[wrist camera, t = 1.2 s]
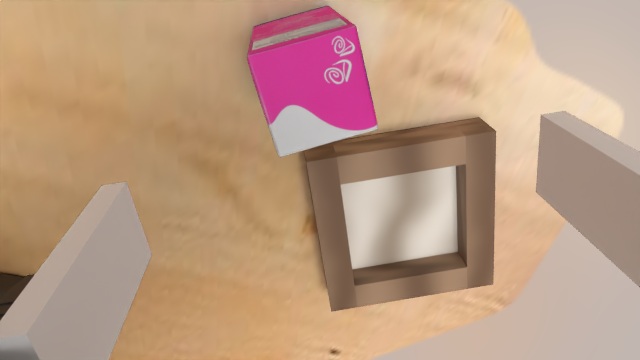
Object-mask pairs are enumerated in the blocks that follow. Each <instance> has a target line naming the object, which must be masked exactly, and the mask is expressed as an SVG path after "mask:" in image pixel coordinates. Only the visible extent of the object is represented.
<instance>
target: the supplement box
mask: <svg viewBox="0 0 640 360" xmlns="http://www.w3.org/2000/svg"><path fill="white" fill-rule="evenodd" d="M247 60H248V64H249V68H250V71H251V74H252V78H253V81H254V84H255V87H256V90H257V94H258V97H259V100H260V103H261V106H262V109H263V112H264V115H265V118H266V121H267V124H268V127H269V130H270V133H271V136H272V139H273V142H274V145H275V148H276V151H277V154H278V156H279V157H283V156H286V155H290V154H293V153H297V152H300V151H304V150H307V149H310V148H314V147H317V146H321V145H324V144H327V143H331V142H334V141H337V140H341V139H344V138H348V137H352V136H355V135H359V134H363V133H366V132H370V131H374V130H377V128H378V125H377V120H376V115H375V110H374V106H373V101H372V97H371V92H370V87H369V83H368V78H367V74H366V69H365V65H364V60H363V56H362V51H361V47H360V42H359V38H358V33H357V28H356V26H355V25H354V24H352V23H351V22H350V21H348V20H347V19H345V18H344V17H343V16H341V15H340V14H338V13H337V12H336V11H335V10H333V9H332V8H330V7H329V6H325V7H321V8H318V9H314V10H311V11H307V12H303V13H300V14H296V15H292V16H289V17H285V18H281V19H278V20H274V21H271V22H267V23H264V24H260V25H257V26H254V27H253V33H252V37H251V42H250V46H249V50H248V54H247Z"/></svg>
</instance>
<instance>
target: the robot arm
mask: <svg viewBox="0 0 640 360" xmlns="http://www.w3.org/2000/svg"><path fill="white" fill-rule="evenodd" d="M536 193H538V194H539V195H540V196H541V197H542V198H543V199H544V200H545V201H546V202H547V203H548V204H550V205H551V206H552V207H553V208H554V209H555V210H556V211H557V212H558V213H559V214H560V215H561V216H563V217H564V218H565V219H566V220H567V221H568V222H569V223H570V224H571V225H572V226H573V227H575V228H576V229H577V230H578V231H579V232H580V233H581V234H582V235H583V236H584V237H586V238H587V239H588V240H589V241H590V242H591V243H592V244H593V245H594V246H595V247H596V248H597V249H599V250H600V251H601V252H602V253H603V254H604V255H605V256H606V257H607V258H608V259H609V260H611V261H612V262H613V263H614V264H615V265H616V266H617V267H618V268H619V269H620V270H621V271H622V272H624V273H625V274H626V275H627V276H628V277H629V278H630V279H631V280H632V281H634V282H635V283H636V284H637V285H638V286H639V287H640V152H639V151H637V150H635V149H633V148H632V147H630V146H628V145H626V144H624V143H622V142H621V141H619V140H617V139H615V138H613V137H611V136H610V135H608V134H606V133H604V132H602V131H600V130H599V129H597V128H595V127H593V126H591V125H589V124H588V123H586V122H584V121H582V120H580V119H578V118H577V117H575V116H573V115H571V114H569V113H567V112H566V111H562V112H555V113H549V114H543V115H541V121H540V136H539V152H538V167H537V183H536ZM151 256H152V253H151V250H150V248H149V245H148V242H147V239H146V236H145V233H144V230H143V228H142V225H141V222H140V219H139V216H138V213H137V210H136V208H135V205H134V202H133V199H132V196H131V193H130V190H129V188H128V185H127V182H120V183H114V184H107V185H102V186H101V187H100V188H99V190H98V191H97V192H96V194H95V195H94V196H93V198H92V199H91V200H90V202H89V203H88V204H87V206H86V207H85V208H84V210H83V211H82V212H81V214H80V215H79V216H78V218H77V219H76V220H75V222H74V223H73V224H72V226H71V227H70V228H69V230H68V231H67V232H66V234H65V235H64V236H63V238H62V239H61V240H60V242H59V243H58V244H57V246H56V247H55V248H54V250H53V251H52V252H51V254H50V255H49V256H48V258H47V259H46V260H45V262H44V263H43V264H42V266H41V267H40V268H39V270H38V271H37V272H36V274H33V275H27V276H26V277H25V278H23V277H19V276H14V275H8V274H0V360H109V358H110V355H111V353H112V350H113V348H114V346H115V343H116V341H117V338H118V336H119V333H120V331H121V329H122V326H123V324H124V321H125V319H126V317H127V314H128V312H129V309H130V307H131V304H132V302H133V300H134V297H135V295H136V292H137V290H138V287H139V285H140V283H141V280H142V278H143V275H144V273H145V270H146V268H147V266H148V263H149V261H150V258H151Z"/></svg>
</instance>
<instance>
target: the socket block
mask: <svg viewBox="0 0 640 360" xmlns="http://www.w3.org/2000/svg"><path fill="white" fill-rule="evenodd" d="M304 151H305V158H306V165H307V171H308V177H309V182H310V188H311V194H312V200H313V206H314V212H315V218H316V224H317V229H318V235H319V241H320V247H321V253H322V259H323V265H324V271H325V276H326V282H327V288H328V294H329V300H330V306H331V311H337V310H343V309H349V308H355V307H361V306H367V305H373V304H379V303H385V302H391V301H397V300H403V299H409V298H415V297H421V296H427V295H433V294H439V293H445V292H451V291H456V290H462V289H468V288H474V287H480V286H486V285H492V284H493V272H494V216H495V159H496V131H495V130H494V129H493V128H492V127H490V126H489V125H488V124H487V123H485V122H484V121H483V120H482V119H481V118H473V119H467V120H461V121H455V122H449V123H443V124H437V125H430V126H424V127H418V128H412V129H406V130H400V131H394V132H388V133H382V134H376V135H369V136H363V137H357V138H351V139H345V140H339V141H334V142H331V143H327V144H324V145H321V146H317V147H314V148H310V149H307V150H304Z"/></svg>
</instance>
